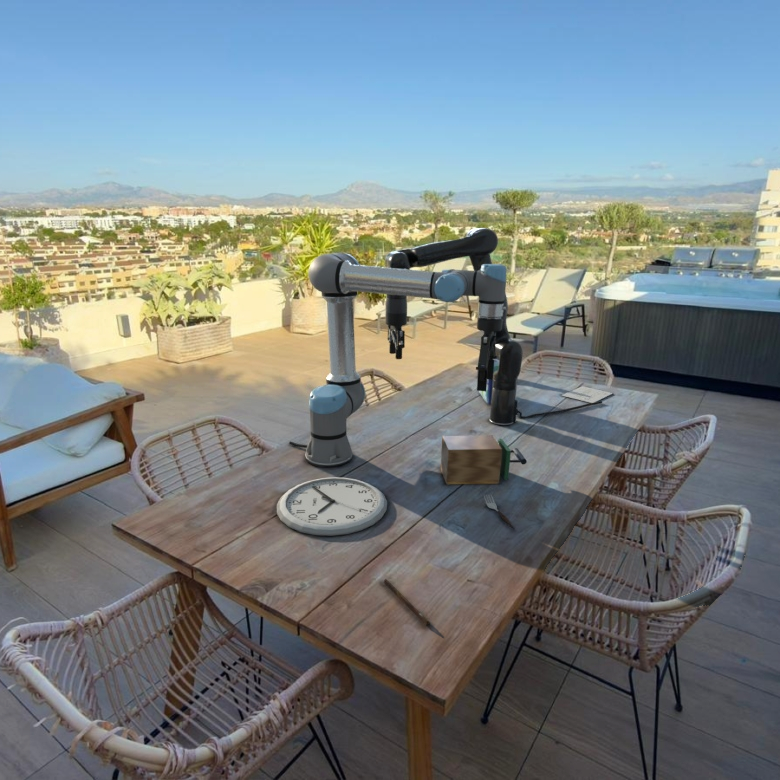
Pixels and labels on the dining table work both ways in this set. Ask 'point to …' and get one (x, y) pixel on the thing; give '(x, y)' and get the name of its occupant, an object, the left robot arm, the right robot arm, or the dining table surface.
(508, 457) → the drawer
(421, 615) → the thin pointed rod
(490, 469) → the open wooden box
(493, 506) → the fork
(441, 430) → the dining table surface
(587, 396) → the invitation card
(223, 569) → the dining table surface
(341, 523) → the wall clock
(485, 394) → the lunch box
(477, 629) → the dining table surface
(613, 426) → the dining table surface
